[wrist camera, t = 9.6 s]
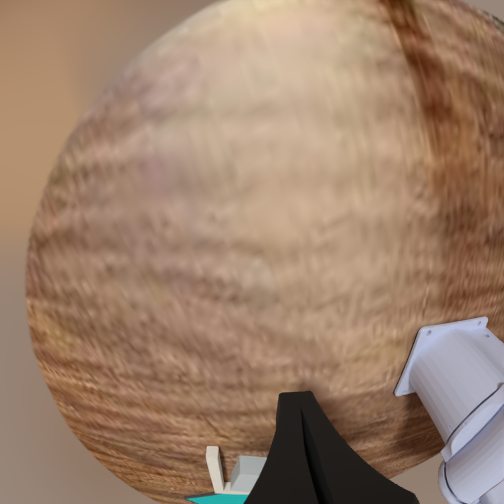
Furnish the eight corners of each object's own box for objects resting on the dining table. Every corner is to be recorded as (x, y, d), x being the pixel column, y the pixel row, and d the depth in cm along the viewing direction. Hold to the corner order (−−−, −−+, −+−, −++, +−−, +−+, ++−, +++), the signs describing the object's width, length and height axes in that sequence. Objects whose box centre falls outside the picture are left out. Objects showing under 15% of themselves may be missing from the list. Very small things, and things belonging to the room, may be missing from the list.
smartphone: (183, 498, 30) (258, 485, 27) (183, 494, 31) (258, 480, 28) (214, 510, 32) (287, 496, 29) (214, 506, 33) (287, 491, 30)
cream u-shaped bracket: (339, 441, 24) (342, 452, 23) (319, 481, 28) (320, 489, 26) (207, 445, 24) (205, 457, 23) (215, 484, 28) (215, 493, 26)
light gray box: (314, 456, 26) (318, 475, 23) (297, 475, 28) (299, 493, 25) (240, 452, 25) (239, 473, 22) (231, 472, 27) (230, 490, 24)
